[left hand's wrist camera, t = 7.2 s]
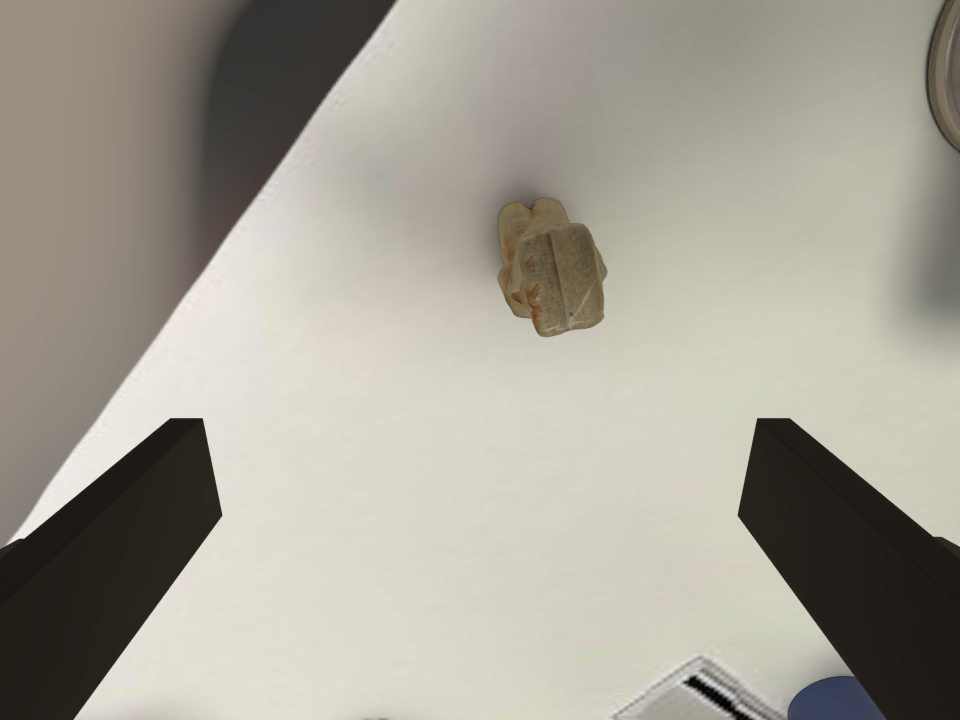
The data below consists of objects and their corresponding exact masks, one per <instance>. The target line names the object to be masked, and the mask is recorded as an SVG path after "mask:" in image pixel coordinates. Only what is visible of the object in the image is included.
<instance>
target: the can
mask: <svg viewBox="0 0 960 720" xmlns="http://www.w3.org/2000/svg"><path fill="white" fill-rule="evenodd" d="M788 720H886V718H885V717H884V715H883V714H882V713H881V711H880V710H879V709H878V707H877V706H876V704H875V703H874V702H873V700H872V699H871V698H870V696H869V695H868V694H867V692H866V691H865V689H864V688H863V687H862V685H861V684H860V683H859V681H858V680H857V678H853V677H834V678H828V679H825V680H821V681H819V682H816V683H814V684H812V685H810V686H808V687H807V688H805V689H804V690H803V691H801V692H800V693H799V694H798V695H797V696H796V697H795V698H794V700H793V701H792V703H791V705H790V707H789V711H788Z"/></svg>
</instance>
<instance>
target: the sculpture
mask: <svg viewBox="0 0 960 720" xmlns="http://www.w3.org/2000/svg"><path fill="white" fill-rule="evenodd" d="M498 233H499V243H500V250H501V256H502V261H503V266H504V267H503V268H502V269H501V271H500V272H499V274H498V282H499V284H500V287H501V289H502V292H503V294H504V296H505V300H506V302H507V304H508V305H509V306H510V308H511V310H512V312H513V314H514V315H515V316H517V317H521V318H530V319H532V322H533V324H534V327H535V329H536V331H537V333H538V334H539V335H540V336H541V337H551V336H555V335H559V334H562V333H564V332H567V331H571V330H576V329H586V328H590V327H593V326H595V325H597V324H598V323H599V322H601V321H602V319H603V318H604V314H603V309H604V296H603V288H602V282H603V280H604V279H605V277H606V276H607V269H606V266H605V265H604V263H603V259H602V256H601V254H600V253H599V251H598V249H597V248H596V246H595V243H594V240H593V237H592V235H591V233H590V231H589V230H588V228H587V227H586V226H585V225H583V224H578V223H569V220H568V217H567V215H566V212H565V210H564V207H563V205H562V204H561V203H560V201H559V200H557V199H552V198H541V199H539V200H535V201H534V203H533V206H532V209H529V208H527V207H525V206H524V205H523V204H522V203H521V202H516V203H512V204H509V205H507V206H505V207H504V208H503V209H502V210H501V212H500V214H499V218H498Z"/></svg>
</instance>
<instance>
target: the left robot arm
mask: <svg viewBox="0 0 960 720" xmlns="http://www.w3.org/2000/svg"><path fill="white" fill-rule="evenodd" d="M928 83H929V94H930V101H931V105H932V109H933V112H934V115H935V118H936V120H937V122H938V124H939V126H940V128H941V130H942V132H943V133H944V135H945V136H946V138H947V139H948V140H949V141H950V142H951V143H952V145H953V146H954V147H956V148H957V149H958V150H959V151H960V0H948V2H947V4H946V6H945V8H944V10H943V13H942V15H941V18H940V20H939V23H938V26H937V29H936V32H935V35H934V39H933V43H932V47H931V53H930V60H929V71H928ZM221 517H222V511H221V506H220V501H219V496H218V491H217V486H216V481H215V476H214V472H213V467H212V462H211V457H210V452H209V447H208V442H207V437H206V432H205V427H204V422H203V418H170V419H169V420H168V421H166V422H165V423H164V424H163V425H162V426H160V427H159V428H158V429H157V430H156V431H154V432H153V433H152V434H151V435H149V436H148V437H147V438H146V439H145V440H143V441H142V442H141V443H140V444H139V445H137V446H136V447H135V448H134V449H133V450H131V451H130V452H129V453H128V454H126V455H125V456H124V457H123V458H122V459H120V460H119V461H118V462H117V463H116V464H114V465H113V466H112V467H111V468H109V469H108V470H107V471H106V472H105V473H103V474H102V475H101V476H100V477H99V478H97V479H96V480H95V481H94V482H93V483H91V484H90V485H89V486H88V487H86V488H85V489H84V490H83V491H82V492H80V493H79V494H78V495H77V496H76V497H74V498H73V499H72V500H71V501H69V502H68V503H67V504H66V505H65V506H63V507H62V508H61V509H60V510H59V511H57V512H56V513H55V514H54V515H53V516H51V517H50V518H49V519H48V520H46V521H45V522H44V523H43V524H42V525H40V526H39V527H38V528H37V529H36V530H34V531H33V532H32V533H31V534H29V535H28V536H27V537H26V538H25V539H18V540H16V541H14V542H12V543H11V544H9V545H7V546H5V547H3V548H1V549H0V720H74V718H75V717H76V715H77V714H78V713H79V711H80V710H81V709H82V707H83V706H84V704H85V703H86V702H87V700H88V699H89V698H90V696H91V695H92V694H93V692H94V691H95V689H96V688H97V687H98V685H99V684H100V683H101V681H102V680H103V678H104V677H105V676H106V674H107V673H108V672H109V670H110V669H111V667H112V666H113V665H114V663H115V662H116V661H117V659H118V658H119V657H120V655H121V654H122V652H123V651H124V650H125V648H126V647H127V646H128V644H129V643H130V641H131V640H132V639H133V637H134V636H135V635H136V633H137V632H138V631H139V629H140V628H141V626H142V625H143V624H144V622H145V621H146V620H147V618H148V617H149V615H150V614H151V613H152V611H153V610H154V609H155V607H156V606H157V604H158V603H159V602H160V600H161V599H162V598H163V596H164V595H165V594H166V592H167V591H168V589H169V588H170V587H171V585H172V584H173V583H174V581H175V580H176V578H177V577H178V576H179V574H180V573H181V572H182V570H183V569H184V568H185V566H186V565H187V563H188V562H189V561H190V559H191V558H192V557H193V555H194V554H195V552H196V551H197V550H198V548H199V547H200V546H201V544H202V543H203V541H204V540H205V539H206V537H207V536H208V535H209V533H210V532H211V531H212V529H213V528H214V526H215V525H216V524H217V522H218V521H219V520H220V518H221ZM738 517H739V518H740V520H741V521H742V522H743V524H744V525H745V526H746V528H747V529H748V531H749V532H750V533H751V535H752V536H753V537H754V539H755V540H756V541H757V543H758V544H759V546H760V547H761V548H762V550H763V551H764V552H765V554H766V555H767V557H768V558H769V559H770V561H771V562H772V563H773V565H774V566H775V568H776V569H777V570H778V572H779V573H780V574H781V576H782V577H783V578H784V580H785V581H786V583H787V584H788V585H789V587H790V588H791V589H792V591H793V592H794V594H795V595H796V596H797V598H798V599H799V600H800V602H801V603H802V604H803V606H804V607H805V609H806V610H807V611H808V613H809V614H810V615H811V617H812V618H813V620H814V621H815V622H816V624H817V625H818V626H819V628H820V629H821V631H822V632H823V633H824V635H825V636H826V637H827V639H828V640H829V641H830V643H831V644H832V646H833V647H834V648H835V650H836V651H837V652H838V654H839V655H840V657H841V658H842V659H843V661H844V662H845V663H846V665H847V666H848V667H849V669H850V670H851V672H852V673H853V674H854V676H855V677H856V678H857V680H858V681H859V683H860V684H861V685H862V687H863V688H864V689H865V691H866V692H867V694H868V695H869V696H870V698H871V699H872V700H873V702H874V703H875V704H876V706H877V707H878V709H879V710H880V711H881V713H882V714H883V715H884V717H885V718H886V720H960V547H959V546H957V545H955V544H954V543H952V542H950V541H948V540H946V539H944V538H943V537H933V536H932V535H931V534H929V533H928V532H927V531H926V530H924V529H923V528H922V527H921V526H920V525H918V524H917V523H916V522H915V521H914V520H912V519H911V518H910V517H909V516H907V515H906V514H905V513H904V512H903V511H901V510H900V509H899V508H898V507H897V506H895V505H894V504H893V503H892V502H891V501H889V500H888V499H887V498H886V497H884V496H883V495H882V494H881V493H880V492H878V491H877V490H876V489H875V488H874V487H872V486H871V485H870V484H869V483H867V482H866V481H865V480H864V479H863V478H861V477H860V476H859V475H858V474H857V473H855V472H854V471H853V470H852V469H851V468H849V467H848V466H847V465H846V464H844V463H843V462H842V461H841V460H840V459H838V458H837V457H836V456H835V455H834V454H832V453H831V452H830V451H829V450H827V449H826V448H825V447H824V446H823V445H821V444H820V443H819V442H818V441H817V440H815V439H814V438H813V437H812V436H811V435H809V434H808V433H807V432H806V431H804V430H803V429H802V428H801V427H800V426H798V425H797V424H796V423H795V422H794V421H792V420H791V419H790V418H757V422H756V427H755V432H754V437H753V442H752V447H751V452H750V457H749V462H748V467H747V472H746V476H745V481H744V486H743V491H742V496H741V501H740V506H739V511H738Z"/></svg>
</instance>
